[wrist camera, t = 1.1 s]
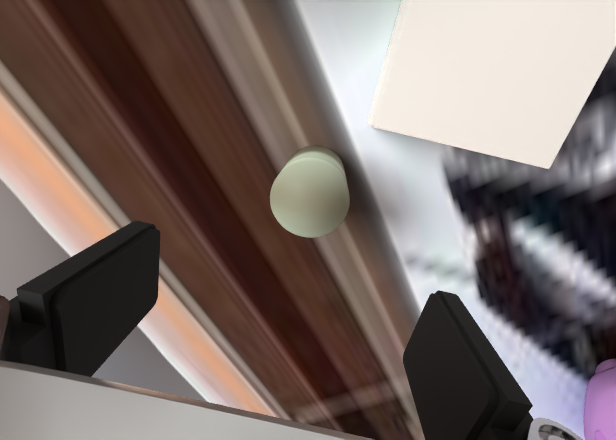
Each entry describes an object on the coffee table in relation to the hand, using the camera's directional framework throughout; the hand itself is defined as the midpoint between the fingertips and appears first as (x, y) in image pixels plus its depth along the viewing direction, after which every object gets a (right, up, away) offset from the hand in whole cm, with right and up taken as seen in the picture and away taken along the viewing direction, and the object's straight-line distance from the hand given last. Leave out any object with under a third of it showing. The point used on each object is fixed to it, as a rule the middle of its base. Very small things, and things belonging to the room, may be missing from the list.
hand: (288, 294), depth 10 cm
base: (+12, +14, +11) cm, 22 cm away
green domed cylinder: (+1, +6, +15) cm, 16 cm away
